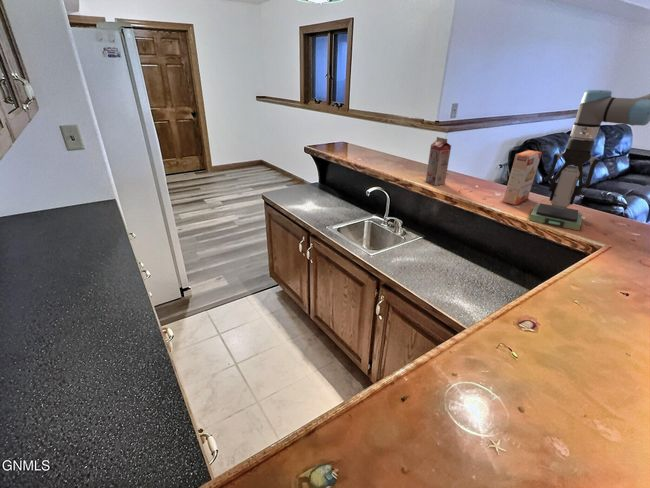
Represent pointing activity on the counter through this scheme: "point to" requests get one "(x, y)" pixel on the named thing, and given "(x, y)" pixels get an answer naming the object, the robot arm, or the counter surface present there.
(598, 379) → the counter surface
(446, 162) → the juice carton
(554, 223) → the scale
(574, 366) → the counter surface
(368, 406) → the counter surface
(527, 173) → the cracker box
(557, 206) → the energy drink can
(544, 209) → the scale pan
